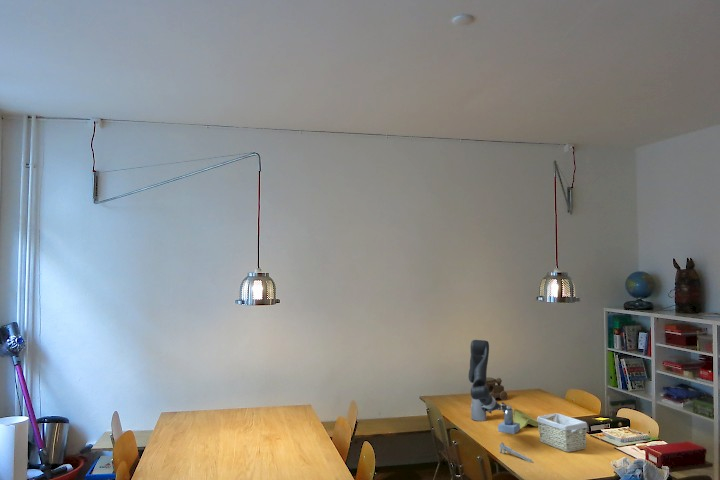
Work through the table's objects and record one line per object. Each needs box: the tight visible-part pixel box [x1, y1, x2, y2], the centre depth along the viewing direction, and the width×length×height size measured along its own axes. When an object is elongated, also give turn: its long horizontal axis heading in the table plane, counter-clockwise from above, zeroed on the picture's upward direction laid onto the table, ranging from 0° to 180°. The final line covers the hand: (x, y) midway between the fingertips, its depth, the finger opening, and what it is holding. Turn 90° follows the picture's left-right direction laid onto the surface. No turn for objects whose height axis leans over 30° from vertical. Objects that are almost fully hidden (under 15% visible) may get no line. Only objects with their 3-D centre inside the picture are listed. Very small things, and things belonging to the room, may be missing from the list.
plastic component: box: [513, 408, 538, 429], centre depth 345 cm, size 20×7×10 cm
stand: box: [497, 421, 521, 435], centre depth 331 cm, size 10×10×4 cm
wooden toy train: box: [485, 376, 508, 401], centre depth 410 cm, size 20×11×17 cm, turn 112°
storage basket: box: [536, 412, 588, 453], centre depth 301 cm, size 24×16×15 cm
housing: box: [503, 404, 514, 425], centre depth 331 cm, size 5×5×11 cm
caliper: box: [499, 441, 534, 463], centre depth 284 cm, size 20×1×6 cm, turn 39°
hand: (497, 411), depth 326 cm, fingers open, 8 cm apart
